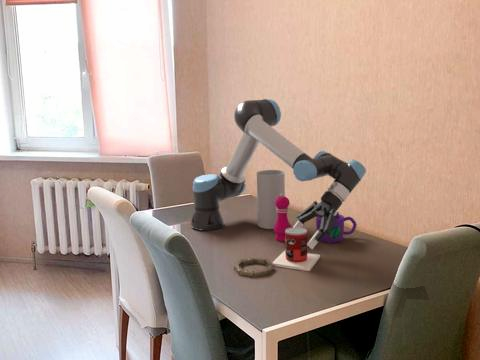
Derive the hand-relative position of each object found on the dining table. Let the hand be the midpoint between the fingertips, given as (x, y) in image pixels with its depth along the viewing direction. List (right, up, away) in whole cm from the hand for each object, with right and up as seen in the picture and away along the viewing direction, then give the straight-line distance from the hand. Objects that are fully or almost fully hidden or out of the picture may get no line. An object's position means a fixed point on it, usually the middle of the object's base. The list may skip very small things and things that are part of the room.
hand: (299, 241), depth 172 cm
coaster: (-1, -7, +1) cm, 8 cm away
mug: (+19, -2, +24) cm, 31 cm away
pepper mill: (-4, -3, +26) cm, 26 cm away
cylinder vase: (-7, +1, +45) cm, 45 cm away
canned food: (-1, -7, +1) cm, 7 cm away
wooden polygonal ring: (-17, -9, -5) cm, 20 cm away
